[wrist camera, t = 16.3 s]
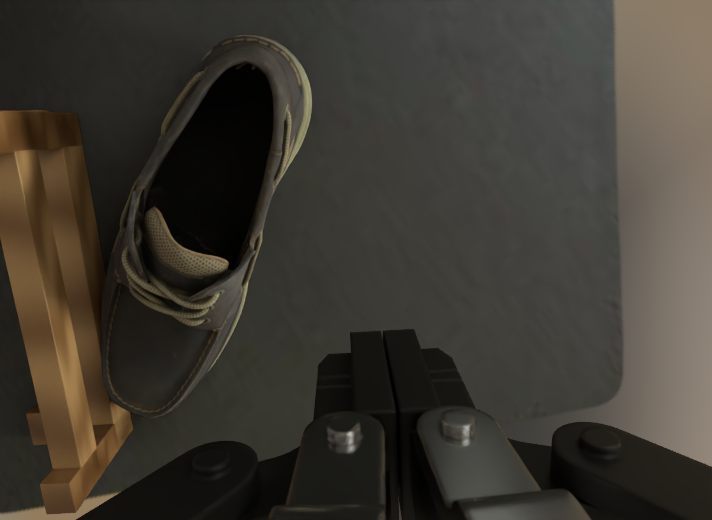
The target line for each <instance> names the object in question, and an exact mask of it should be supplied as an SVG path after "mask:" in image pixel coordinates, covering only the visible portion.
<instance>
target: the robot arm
mask: <svg viewBox="0 0 712 520" xmlns="http://www.w3.org/2000/svg"><path fill="white" fill-rule="evenodd" d="M350 340H351V353H340V354H328V355H327V356H326V357H325V358H324V360H323V361H322V362H321V363H320V364H319V365H318V376H317V378H318V379H317V389H316V398H315V408H314V419H313V421H312V422H311V423H310V424H309V425H308V426H307V427H306V429H305V430H304V433H303V436H302V440H301V444H300V446H299V447H298V448H296V449H295V450H293V451H291V452H289V453H286V454H284V455H281V456H278V457H275V458H271V459H268V460H264V461H260V462H258V458H257V454H256V453H255V451H254V450H253V449H252V448H251V447H249V446H248V445H246V444H243V443H240V442H235V441H218V442H212V443H207V444H204V445H201V446H198V447H196V448H193V449H191V450H189V451H187V452H186V453H184V454H182V455H181V456H179V457H177V458H176V459H174V460H173V461H171V462H169V463H168V464H166V465H164V466H163V467H161V468H160V469H158V470H156V471H155V472H153V473H151V474H150V475H148V476H147V477H145V478H143V479H142V480H140V481H138V482H137V483H135V484H133V485H132V486H130V487H129V488H127V489H125V490H124V491H122V492H120V493H119V494H117V495H116V496H114V497H112V498H111V499H109V500H107V501H106V502H104V503H103V504H101V505H99V506H98V507H96V508H94V509H93V510H91V511H89V512H88V513H86V514H85V515H83V516H81V517H80V518H78V519H76V520H399V503H400V510H401V516H402V520H712V467H711V466H708V465H706V464H703V463H701V462H698V461H696V460H693V459H691V458H689V457H686V456H684V455H681V454H679V453H676V452H674V451H671V450H669V449H667V448H664V447H662V446H659V445H657V444H654V443H652V442H649V441H647V440H645V439H642V438H639V437H637V436H635V435H632V434H630V433H627V432H625V431H623V430H620V429H617V428H615V427H612V426H608V425H604V424H599V423H592V422H575V423H570V424H566V425H563V426H561V427H560V428H558V429H557V430H556V431H555V432H554V434H553V437H552V446H545V445H538V444H531V443H524V442H519V441H515V440H512V439H509V438H507V437H506V436H505V434H504V433H503V431H502V430H501V428H500V427H499V425H498V424H497V422H496V421H495V420H494V419H493V418H492V417H491V416H490V415H488V414H486V413H485V412H483V411H480V410H478V409H476V408H475V406H474V404H473V402H472V400H471V398H470V395H469V393H468V391H467V389H466V387H465V385H464V383H463V381H462V378H461V376H460V374H459V372H458V371H457V368H456V366H455V364H454V362H453V359H452V357H450V356H449V355H447V354H446V353H444V352H443V351H441V350H440V349H438V348H431V349H421V348H420V345H419V342H418V339H417V336H416V334H415V331H414V329H405V330H387V331H383V340H382V335H381V331H369V332H350ZM398 497H399V503H398Z"/></svg>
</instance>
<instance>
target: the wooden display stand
mask: <svg viewBox="0 0 712 520" xmlns="http://www.w3.org/2000/svg"><path fill="white" fill-rule="evenodd" d="M0 239H1V243H2V248H3V252H4V257H5V261H6V265H7V270H8V274H9V279H10V283H11V287H12V292H13V296H14V301H15V305H16V309H17V314H18V318H19V323H20V327H21V331H22V336H23V340H24V345H25V349H26V353H27V358H28V362H29V367H30V371H31V375H32V380H33V384H34V389H35V393H36V397H37V402H38V406H34V407H33V408H32V409H31V410H30V411H29V412H28V413H26V416H27V420H28V424H29V429H30V433H31V437H32V441H33V445H45V444H47V446H48V450H49V455H50V459H51V463H52V468H53V469H52V471H51V472H50V473H49V474H48V475H47V477H46V478H45V479H44V480H43V481H42V483H41V484H40V487H41V492H42V496H43V500H44V504H45V509H46V513H47V514H61V513H76V512H77V510H78V509H79V507H80V506H81V504H82V503H83V502H84V500H85V499H86V497H87V496H88V494H89V493H90V491H91V490H92V488H93V487H94V485H95V484H96V482H97V481H98V480H99V478H100V477H101V475H102V474H103V472H104V471H105V469H106V468H107V466H108V465H109V463H110V462H111V460H112V459H113V458H114V456H115V455H116V453H117V452H118V450H119V449H120V447H121V446H122V444H123V443H124V441H125V440H126V438H127V437H128V435H129V434H130V433H131V431H132V430H133V426H132V420H131V415H130V412H129V411H127V410H125V409H123V408H121V407H120V406H118V405H116V404H115V403H114V402H113V401H112V400H111V399H110V397H109V396H108V394H107V392H106V389H105V386H104V382H103V378H102V348H101V332H102V327H101V311H102V296H103V289H104V284H105V278H106V274H105V269H104V263H103V257H102V252H101V246H100V240H99V235H98V229H97V223H96V218H95V212H94V206H93V201H92V195H91V189H90V184H89V178H88V172H87V167H86V161H85V156H84V150H83V144H82V138H81V132H80V127H79V121H78V115H77V113H59V112H49V111H48V110H25V111H7V110H0Z"/></svg>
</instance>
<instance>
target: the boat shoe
mask: <svg viewBox="0 0 712 520" xmlns="http://www.w3.org/2000/svg"><path fill="white" fill-rule="evenodd" d="M311 110H312V95H311V88H310V84H309V81H308V77H307V75H306V72H305V70H304V69H303V67H302V65H301V64H300V62H299V61H298V60H297V58H296V57H295V56H294V55H293V54H292V53H291V52H290V51H289V50H288V49H287V48H285V47H284V46H282V45H281V44H279V43H277V42H276V41H274V40H271V39H268V38H266V37H262V36H257V35H240V36H235V37H232V38H228V39H225V40H223V41H221V42H220V43H218V44H217V45H216V46H215V47H213V48H212V49H211V50H210V51H209V52H208V53H207V54H206V55H205V57H204V58H203V59H202V60H201V62H200V63H199V64H198V65H197V66H196V67H195V68H194V70H193V71H192V73H191V75H190V77H189V79H188V81H187V82H186V84H185V85H184V87H183V89H182V91H181V93H180V95H179V96H178V98H177V99H176V101H175V102H174V104H173V106H172V107H171V109H170V111H169V112H168V114H167V116H166V117H165V119H164V121H163V123H162V127H161V136H160V137H159V140H158V143H157V145H156V147H155V148H154V150H153V152H152V154H151V156H150V157H149V159H148V161H147V163H146V165H145V166H144V168H143V170H142V172H141V174H140V175H139V177H138V178H137V179H136V181H135V183H134V185H133V187H132V190H131V192H130V195H129V198H128V200H127V203H126V205H125V208H124V210H123V212H122V215H121V219H120V229H119V232H118V234H117V237H116V239H115V242H114V245H113V248H112V251H111V254H110V259H109V264H108V268H107V273H106V278H105V284H104V289H103V296H102V311H101V327H102V332H101V348H102V378H103V382H104V386H105V389H106V392H107V394H108V396H109V397H110V399H111V400H112V401H113V402H114V403H115V404H116V405H118V406H120V407H121V408H123V409H125V410H127V411H129V412H132V413H134V414H137V415H139V416H142V417H145V418H155V417H159V416H163V415H165V414H168V413H170V412H171V411H173V410H174V409H175V408H177V407H178V406H179V405H180V404H181V403H182V402H183V401H184V400H185V399H186V398H187V397H188V396H189V395H190V394H191V392H192V391H193V390H194V389H195V388H196V387H197V386H198V384H199V383H200V382H201V380H202V379H203V378H204V376H205V375H206V374H207V372H208V371H209V370H210V368H211V367H212V366H213V365H214V363H215V362H216V360H217V358H218V357H219V355H220V354H221V352H222V351H223V349H224V347H225V346H226V344H227V342H228V340H229V338H230V336H231V335H232V333H233V331H234V329H235V327H236V324H237V322H238V319H239V317H240V314H241V311H242V308H243V305H244V302H245V298H246V294H247V288H248V281H249V279H250V277H251V274H252V271H253V268H254V264H255V261H256V258H257V255H258V251H259V248H260V245H261V242H262V230H263V228H264V224H265V219H266V215H267V211H268V207H269V204H270V201H271V198H272V196H273V194H274V192H275V190H276V187H277V185H278V183H279V181H280V180H281V178H282V176H283V175H284V173H285V171H286V170H287V168H288V167H289V165H290V163H291V162H292V160H293V159H294V157H295V155H296V154H297V152H298V150H299V148H300V147H301V145H302V142H303V140H304V137H305V135H306V132H307V130H308V127H309V122H310V118H311Z"/></svg>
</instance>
